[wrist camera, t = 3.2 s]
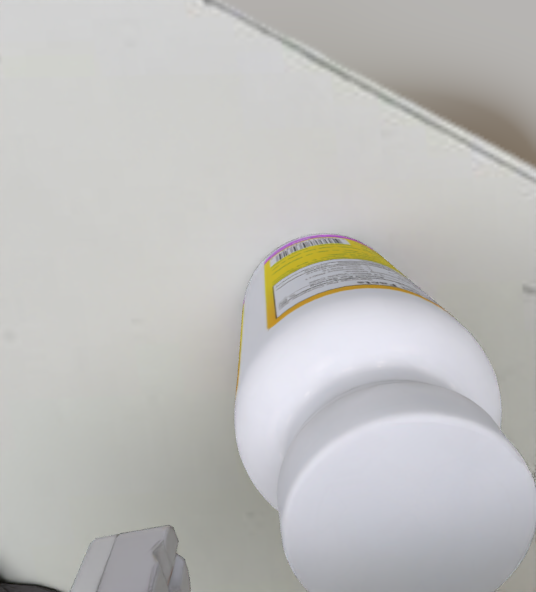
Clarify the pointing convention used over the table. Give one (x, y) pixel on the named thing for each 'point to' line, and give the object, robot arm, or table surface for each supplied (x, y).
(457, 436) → the supplement bottle
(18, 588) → the cloth
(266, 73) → the table surface
